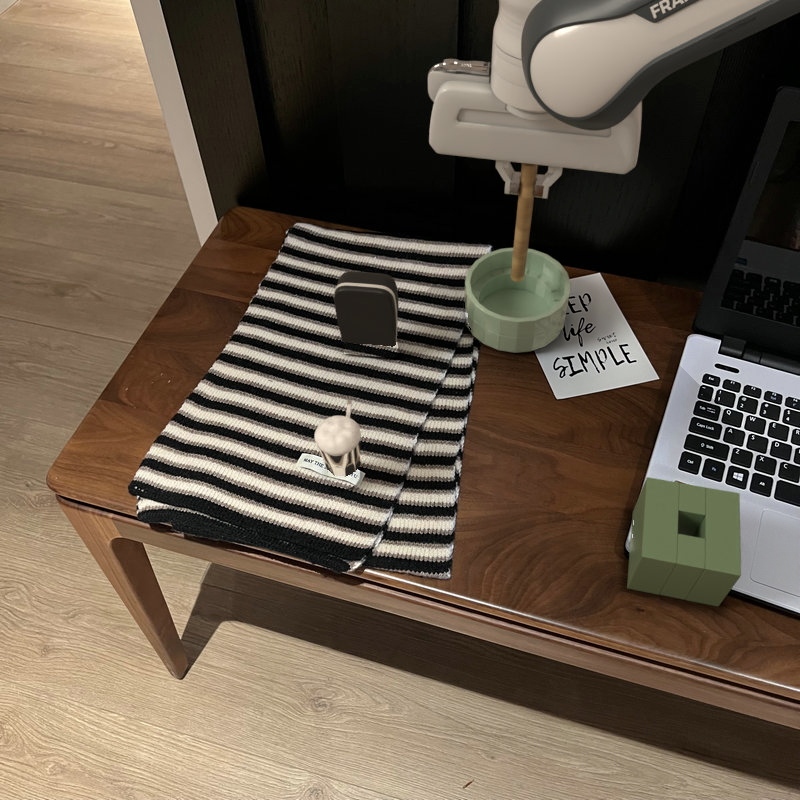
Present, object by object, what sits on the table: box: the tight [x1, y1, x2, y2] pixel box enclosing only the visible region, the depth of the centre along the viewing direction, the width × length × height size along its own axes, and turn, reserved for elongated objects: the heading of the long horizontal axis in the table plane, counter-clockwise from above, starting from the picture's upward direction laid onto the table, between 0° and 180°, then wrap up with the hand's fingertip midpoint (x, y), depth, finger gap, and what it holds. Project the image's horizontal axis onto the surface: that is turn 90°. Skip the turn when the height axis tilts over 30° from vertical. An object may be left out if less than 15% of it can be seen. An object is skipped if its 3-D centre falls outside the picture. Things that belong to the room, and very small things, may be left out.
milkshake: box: [314, 399, 362, 477], centre depth 79 cm, size 5×5×10 cm
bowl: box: [463, 247, 572, 354], centre depth 93 cm, size 12×12×6 cm
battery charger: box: [333, 270, 399, 347], centre depth 90 cm, size 7×4×11 cm, turn 81°
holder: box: [626, 476, 742, 607], centre depth 73 cm, size 8×8×7 cm
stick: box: [511, 163, 539, 282], centre depth 84 cm, size 2×2×16 cm
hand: (526, 192), depth 81 cm, fingers closed on stick, 1 cm apart
